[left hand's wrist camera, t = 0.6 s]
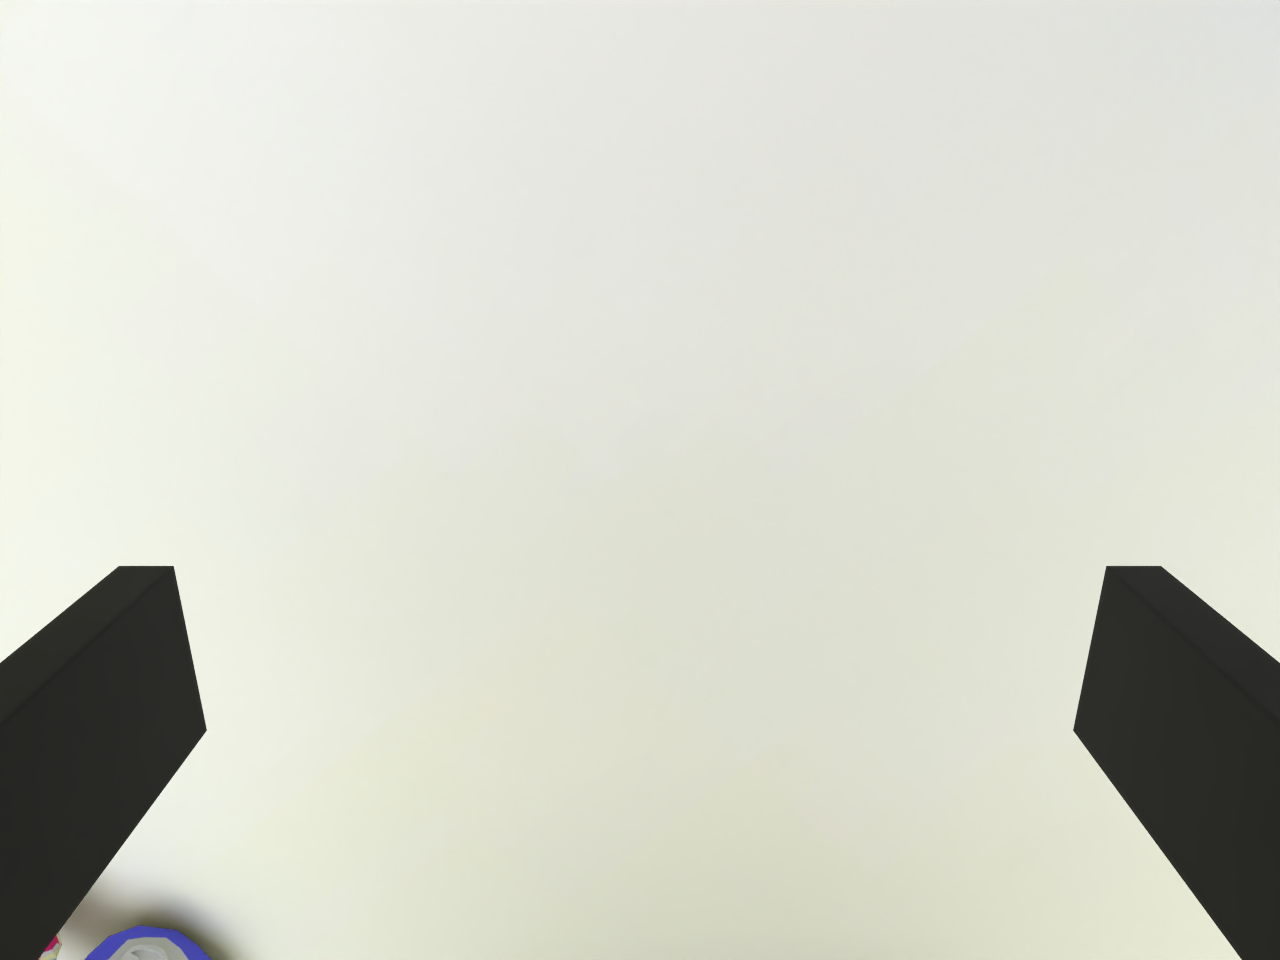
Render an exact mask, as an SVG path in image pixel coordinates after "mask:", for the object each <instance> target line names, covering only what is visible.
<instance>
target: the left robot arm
mask: <svg viewBox="0 0 1280 960" xmlns="http://www.w3.org/2000/svg"><path fill="white" fill-rule="evenodd" d="M206 731H207V729H206V724H205V719H204V714H203V709H202V704H201V700H200V695H199V690H198V685H197V680H196V675H195V670H194V665H193V660H192V655H191V650H190V645H189V640H188V635H187V630H186V625H185V620H184V615H183V610H182V605H181V600H180V595H179V591H178V586H177V581H176V576H175V571H174V566H119V567H117V568H116V569H115V570H114V571H113V572H111V573H110V574H109V575H108V576H106V577H105V578H104V579H103V580H102V581H100V582H99V583H98V584H97V585H95V586H94V587H93V588H92V589H90V590H89V591H88V592H87V593H86V594H84V595H83V596H82V597H81V598H79V599H78V600H77V601H76V602H75V603H73V604H72V605H71V606H70V607H68V608H67V609H66V610H65V611H64V612H62V613H61V614H60V615H59V616H57V617H56V618H55V619H54V620H52V621H51V622H50V623H49V624H48V625H46V626H45V627H44V628H43V629H41V630H40V631H39V632H38V633H37V634H35V635H34V636H33V637H32V638H30V639H29V640H28V641H27V642H26V643H24V644H23V645H22V646H21V647H19V648H18V649H17V650H16V651H14V652H13V653H12V654H11V655H10V656H8V657H7V658H6V659H5V660H3V661H2V662H1V663H0V960H38V959H39V958H40V956H41V955H42V954H43V952H44V951H45V950H46V948H47V947H48V946H49V944H50V943H51V941H52V940H53V939H54V937H55V936H56V935H57V933H58V932H59V931H60V929H61V928H62V926H63V925H64V924H65V922H66V921H67V920H68V918H69V917H70V916H71V914H72V913H73V912H74V910H75V909H76V907H77V906H78V905H79V903H80V902H81V901H82V899H83V898H84V897H85V895H86V894H87V892H88V891H89V890H90V888H91V887H92V886H93V884H94V883H95V882H96V880H97V879H98V878H99V876H100V875H101V873H102V872H103V871H104V869H105V868H106V867H107V865H108V864H109V863H110V861H111V860H112V859H113V857H114V856H115V854H116V853H117V852H118V850H119V849H120V848H121V846H122V845H123V844H124V842H125V841H126V839H127V838H128V837H129V835H130V834H131V833H132V831H133V830H134V829H135V827H136V826H137V825H138V823H139V822H140V820H141V819H142V818H143V816H144V815H145V814H146V812H147V811H148V810H149V808H150V807H151V805H152V804H153V803H154V801H155V800H156V799H157V797H158V796H159V795H160V793H161V792H162V791H163V789H164V788H165V786H166V785H167V784H168V782H169V781H170V780H171V778H172V777H173V776H174V774H175V773H176V771H177V770H178V769H179V767H180V766H181V765H182V763H183V762H184V761H185V759H186V758H187V757H188V755H189V754H190V752H191V751H192V750H193V748H194V747H195V746H196V744H197V743H198V742H199V740H200V739H201V737H202V736H203V735H204V733H205V732H206ZM1073 731H1074V732H1075V733H1076V735H1077V736H1078V737H1079V739H1080V740H1081V742H1082V743H1083V744H1084V746H1085V747H1086V748H1087V750H1088V751H1089V752H1090V754H1091V755H1092V757H1093V758H1094V759H1095V761H1096V762H1097V763H1098V765H1099V766H1100V767H1101V769H1102V770H1103V771H1104V773H1105V774H1106V776H1107V777H1108V778H1109V780H1110V781H1111V782H1112V784H1113V785H1114V786H1115V788H1116V789H1117V791H1118V792H1119V793H1120V795H1121V796H1122V797H1123V799H1124V800H1125V801H1126V803H1127V804H1128V805H1129V807H1130V808H1131V810H1132V811H1133V812H1134V814H1135V815H1136V816H1137V818H1138V819H1139V820H1140V822H1141V823H1142V825H1143V826H1144V827H1145V829H1146V830H1147V831H1148V833H1149V834H1150V835H1151V837H1152V838H1153V839H1154V841H1155V842H1156V844H1157V845H1158V846H1159V848H1160V849H1161V850H1162V852H1163V853H1164V854H1165V856H1166V857H1167V859H1168V860H1169V861H1170V863H1171V864H1172V865H1173V867H1174V868H1175V869H1176V871H1177V872H1178V873H1179V875H1180V876H1181V878H1182V879H1183V880H1184V882H1185V883H1186V884H1187V886H1188V887H1189V888H1190V890H1191V891H1192V892H1193V894H1194V895H1195V897H1196V898H1197V899H1198V901H1199V902H1200V903H1201V905H1202V906H1203V907H1204V909H1205V910H1206V912H1207V913H1208V914H1209V916H1210V917H1211V918H1212V920H1213V921H1214V922H1215V924H1216V925H1217V926H1218V928H1219V929H1220V931H1221V932H1222V933H1223V935H1224V936H1225V937H1226V939H1227V940H1228V941H1229V943H1230V944H1231V946H1232V947H1233V948H1234V950H1235V951H1236V952H1237V954H1238V955H1239V956H1240V958H1241V959H1242V960H1280V663H1279V662H1278V661H1277V660H1275V659H1274V658H1273V657H1272V656H1270V655H1269V654H1268V653H1267V652H1266V651H1264V650H1263V649H1262V648H1261V647H1259V646H1258V645H1257V644H1256V643H1254V642H1253V641H1252V640H1251V639H1250V638H1248V637H1247V636H1246V635H1245V634H1243V633H1242V632H1241V631H1240V630H1239V629H1237V628H1236V627H1235V626H1234V625H1232V624H1231V623H1230V622H1229V621H1228V620H1226V619H1225V618H1224V617H1223V616H1221V615H1220V614H1219V613H1218V612H1216V611H1215V610H1214V609H1213V608H1212V607H1210V606H1209V605H1208V604H1207V603H1205V602H1204V601H1203V600H1202V599H1201V598H1199V597H1198V596H1197V595H1196V594H1194V593H1193V592H1192V591H1191V590H1190V589H1188V588H1187V587H1186V586H1185V585H1183V584H1182V583H1181V582H1180V581H1178V580H1177V579H1176V578H1175V577H1174V576H1172V575H1171V574H1170V573H1169V572H1167V571H1166V570H1165V569H1164V568H1163V567H1161V566H1106V571H1105V576H1104V581H1103V586H1102V591H1101V595H1100V600H1099V605H1098V610H1097V615H1096V620H1095V625H1094V630H1093V635H1092V640H1091V645H1090V650H1089V655H1088V660H1087V665H1086V670H1085V675H1084V680H1083V685H1082V690H1081V695H1080V700H1079V704H1078V709H1077V714H1076V719H1075V724H1074V729H1073Z"/></svg>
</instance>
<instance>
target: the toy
mask: <svg viewBox="0 0 1280 960" xmlns="http://www.w3.org/2000/svg"><path fill="white" fill-rule="evenodd" d="M61 945H62V944H61V941H60V938H59V935H58V933H57V935H56V936H55V937H54V939H53V940H52V941H51V943H50V944H49V946H48V947H47V948H46V950H45V951H44V952H43V954H42V955H41V956H40V958H39V959H38V960H56V958H57V955H58V953H59V950H60V948H61ZM85 960H211V959H210V958H209V957H208V956H207V955H206V953H205V952H204V951H203V950H202V949H201V948H200V947H199V946H198V945H197V944H195V943H194V942H193V941H191V940H190V939H188V938H187V937H186V936H184V935H183V934H182V933H180V932H179V931H178V930H172V929H164V928H156V927H148V926H140V925H139V926H136V927H133V928H131V929H128V930H125V931H122V932H120V933H117V934H114V935H111V936H109V937H108V938H107V939H106V940H104V941H103V942H102V943H101V944H100V945H99V946H98V947H97V948H96V949H95V950H93V951H92V952H91V953H90V954H89V955H88V956H87V957H86V959H85Z"/></svg>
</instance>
